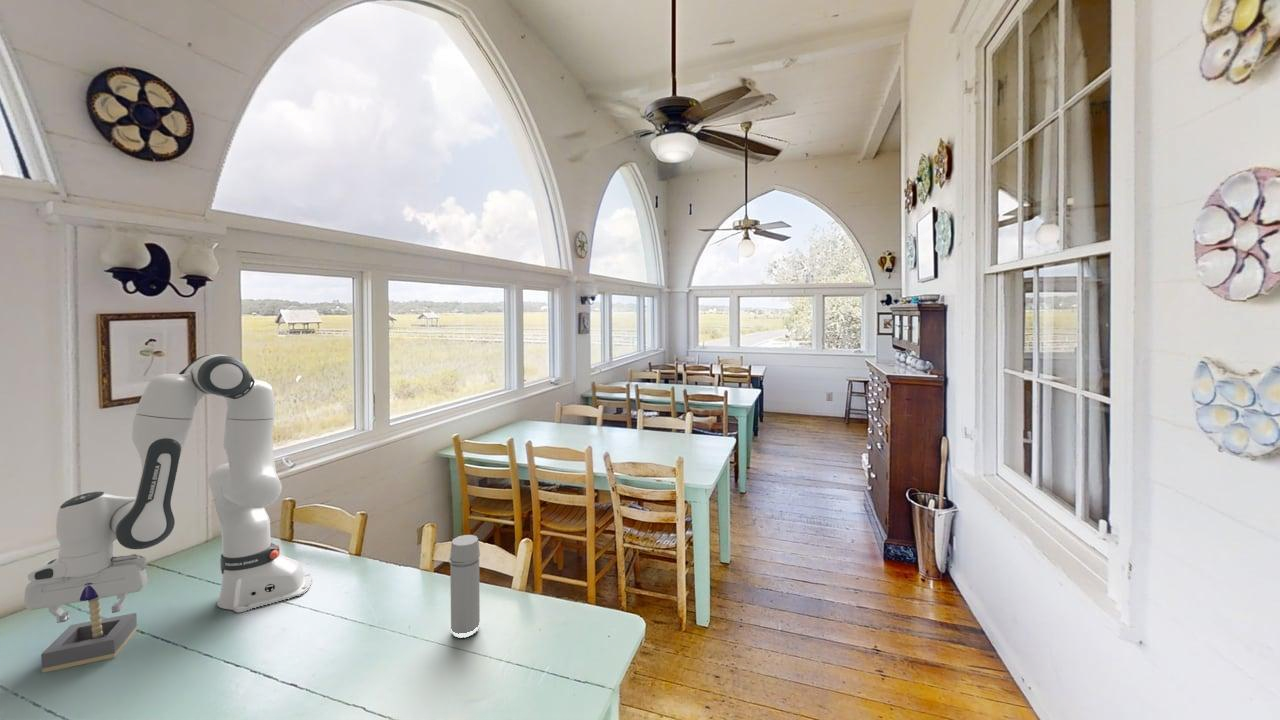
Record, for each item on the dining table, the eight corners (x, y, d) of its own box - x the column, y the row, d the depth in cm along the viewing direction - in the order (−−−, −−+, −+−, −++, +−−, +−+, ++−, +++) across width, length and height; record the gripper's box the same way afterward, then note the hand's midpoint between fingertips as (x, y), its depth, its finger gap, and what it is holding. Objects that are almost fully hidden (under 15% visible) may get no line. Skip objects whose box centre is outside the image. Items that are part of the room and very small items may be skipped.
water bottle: (486, 630, 131) (486, 539, 129) (459, 645, 125) (458, 549, 123) (467, 616, 137) (466, 529, 135) (440, 630, 131) (439, 538, 129)
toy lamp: (90, 653, 118) (86, 585, 117) (76, 649, 119) (72, 583, 117) (115, 640, 122) (112, 575, 121) (101, 637, 123) (97, 573, 122)
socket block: (137, 629, 128) (136, 612, 128) (114, 657, 118) (113, 639, 118) (71, 642, 123) (70, 625, 123) (42, 672, 112) (41, 654, 112)
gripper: (150, 547, 126) (153, 599, 127) (34, 564, 117) (39, 619, 118) (139, 558, 121) (143, 611, 122) (17, 576, 111) (22, 634, 112)
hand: (91, 616), depth 120 cm, fingers open, 8 cm apart
